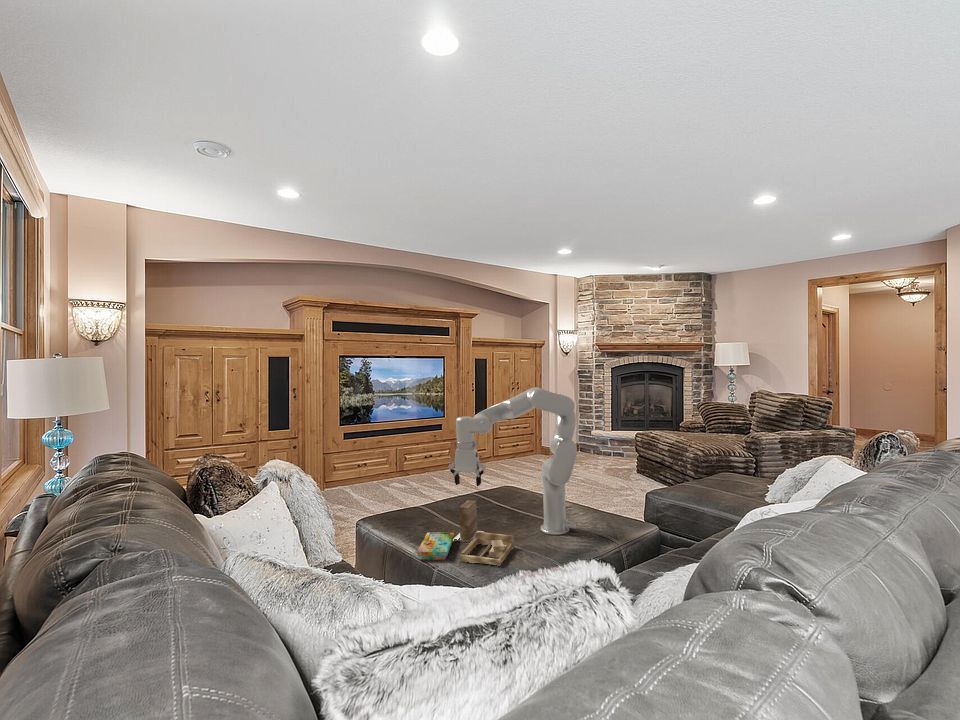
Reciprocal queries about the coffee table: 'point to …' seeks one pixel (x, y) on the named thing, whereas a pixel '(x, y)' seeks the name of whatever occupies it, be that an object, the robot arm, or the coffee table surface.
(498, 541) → the offcut top
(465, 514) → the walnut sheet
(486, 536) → the frame
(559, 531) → the robot arm
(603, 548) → the coffee table surface
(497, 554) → the offcut low
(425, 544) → the puzzle game
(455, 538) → the mat
